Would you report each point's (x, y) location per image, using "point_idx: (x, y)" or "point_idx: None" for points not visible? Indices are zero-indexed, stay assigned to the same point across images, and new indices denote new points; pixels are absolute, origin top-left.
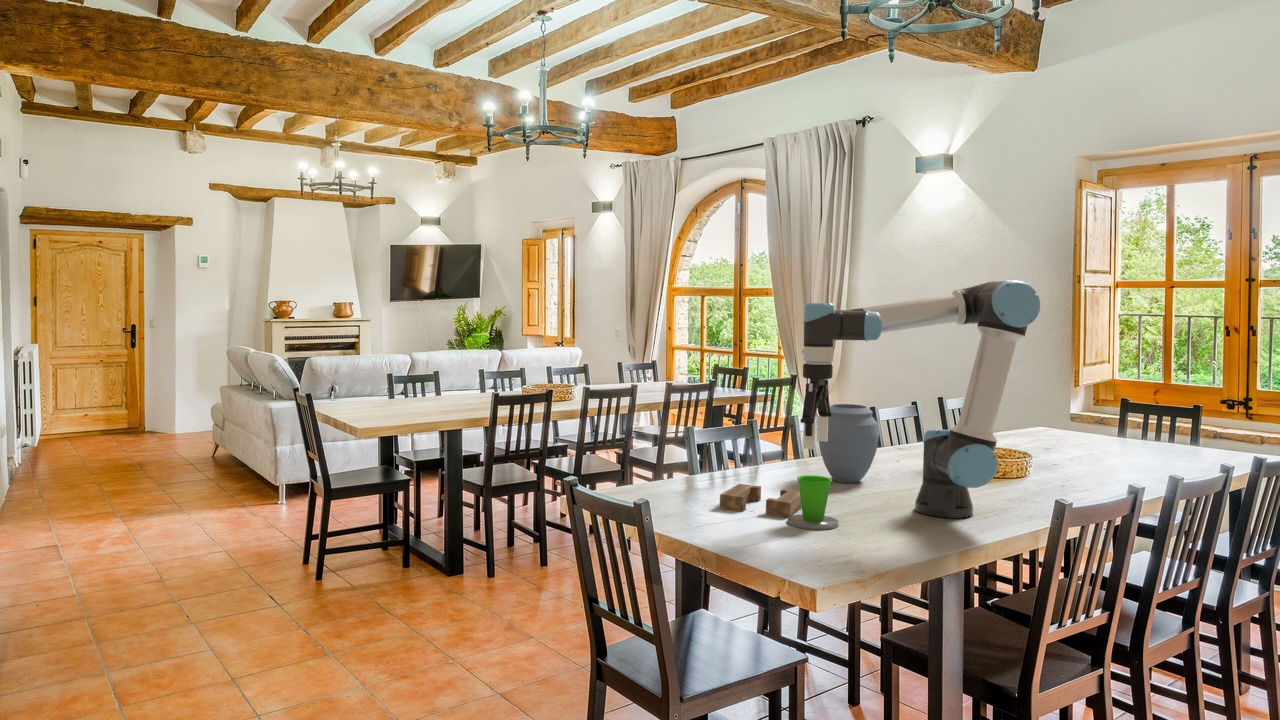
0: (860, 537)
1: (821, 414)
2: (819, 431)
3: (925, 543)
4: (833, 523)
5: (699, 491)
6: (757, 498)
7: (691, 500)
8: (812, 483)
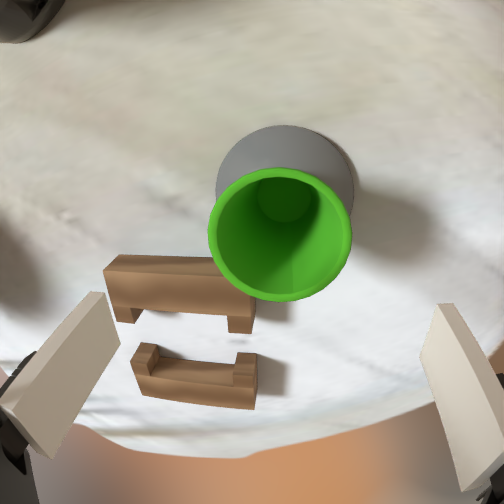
0: (364, 54)
1: (18, 449)
2: (90, 372)
3: None
4: (290, 137)
5: (159, 422)
6: (155, 349)
7: (225, 425)
8: (345, 231)
